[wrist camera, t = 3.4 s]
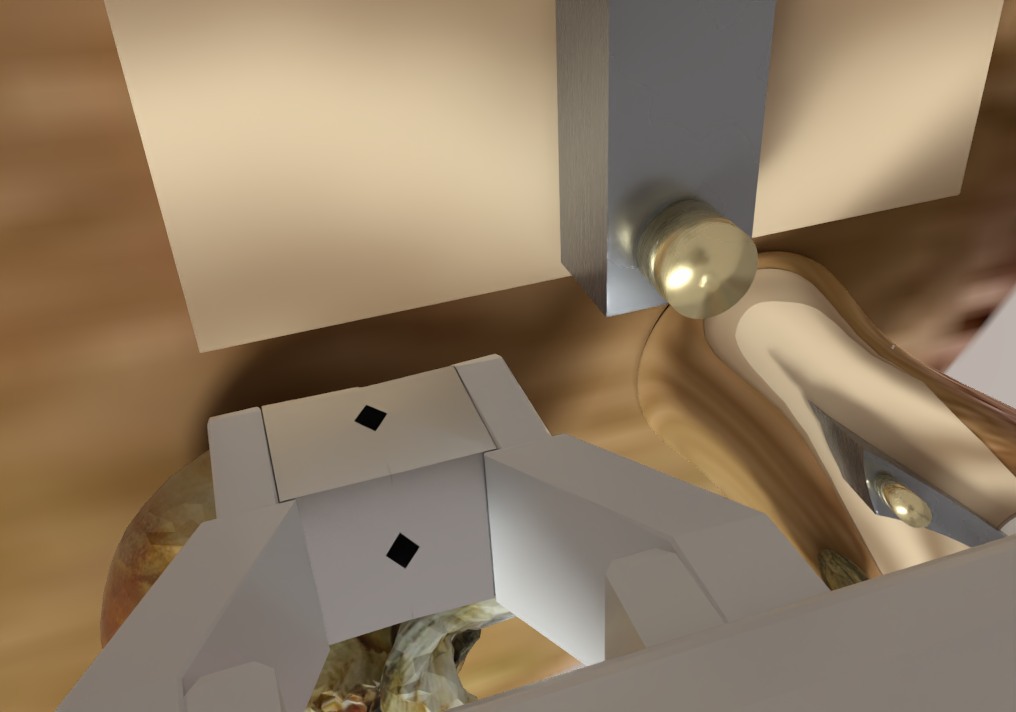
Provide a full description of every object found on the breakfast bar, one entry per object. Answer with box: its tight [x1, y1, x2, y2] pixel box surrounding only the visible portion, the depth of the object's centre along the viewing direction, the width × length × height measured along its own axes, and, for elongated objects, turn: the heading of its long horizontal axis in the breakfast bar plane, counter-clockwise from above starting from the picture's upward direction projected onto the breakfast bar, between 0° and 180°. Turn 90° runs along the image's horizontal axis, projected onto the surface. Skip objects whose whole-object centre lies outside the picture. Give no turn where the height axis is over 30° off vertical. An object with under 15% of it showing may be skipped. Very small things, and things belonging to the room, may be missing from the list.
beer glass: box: [637, 251, 1016, 591], centre depth 19 cm, size 7×7×15 cm
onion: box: [100, 449, 516, 712], centre depth 20 cm, size 8×8×8 cm
